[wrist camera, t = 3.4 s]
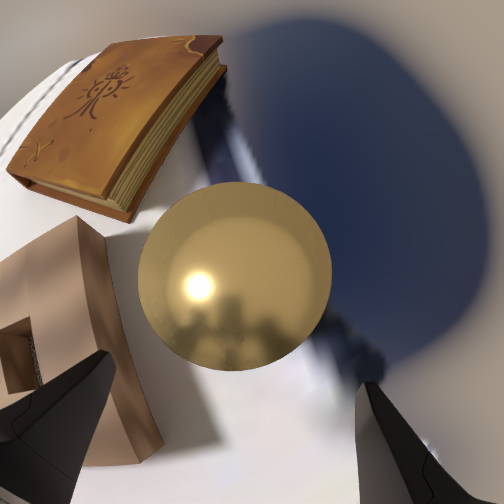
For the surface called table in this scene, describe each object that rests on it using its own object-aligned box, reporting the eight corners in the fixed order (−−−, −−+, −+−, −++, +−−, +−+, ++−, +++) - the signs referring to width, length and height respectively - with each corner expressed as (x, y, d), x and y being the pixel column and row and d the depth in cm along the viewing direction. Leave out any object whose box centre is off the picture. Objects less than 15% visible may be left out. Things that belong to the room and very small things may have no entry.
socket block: (164, 443, 16) (139, 463, 12) (28, 451, 15) (1, 458, 11) (104, 237, 22) (76, 215, 18) (-6, 296, 21) (-33, 286, 17)
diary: (119, 71, 33) (107, 44, 28) (227, 71, 30) (222, 35, 25) (28, 191, 26) (2, 167, 21) (131, 226, 23) (99, 193, 18)
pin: (302, 338, 19) (363, 321, 6) (233, 365, 18) (171, 396, 6) (275, 272, 20) (282, 160, 8) (208, 298, 20) (123, 221, 8)
